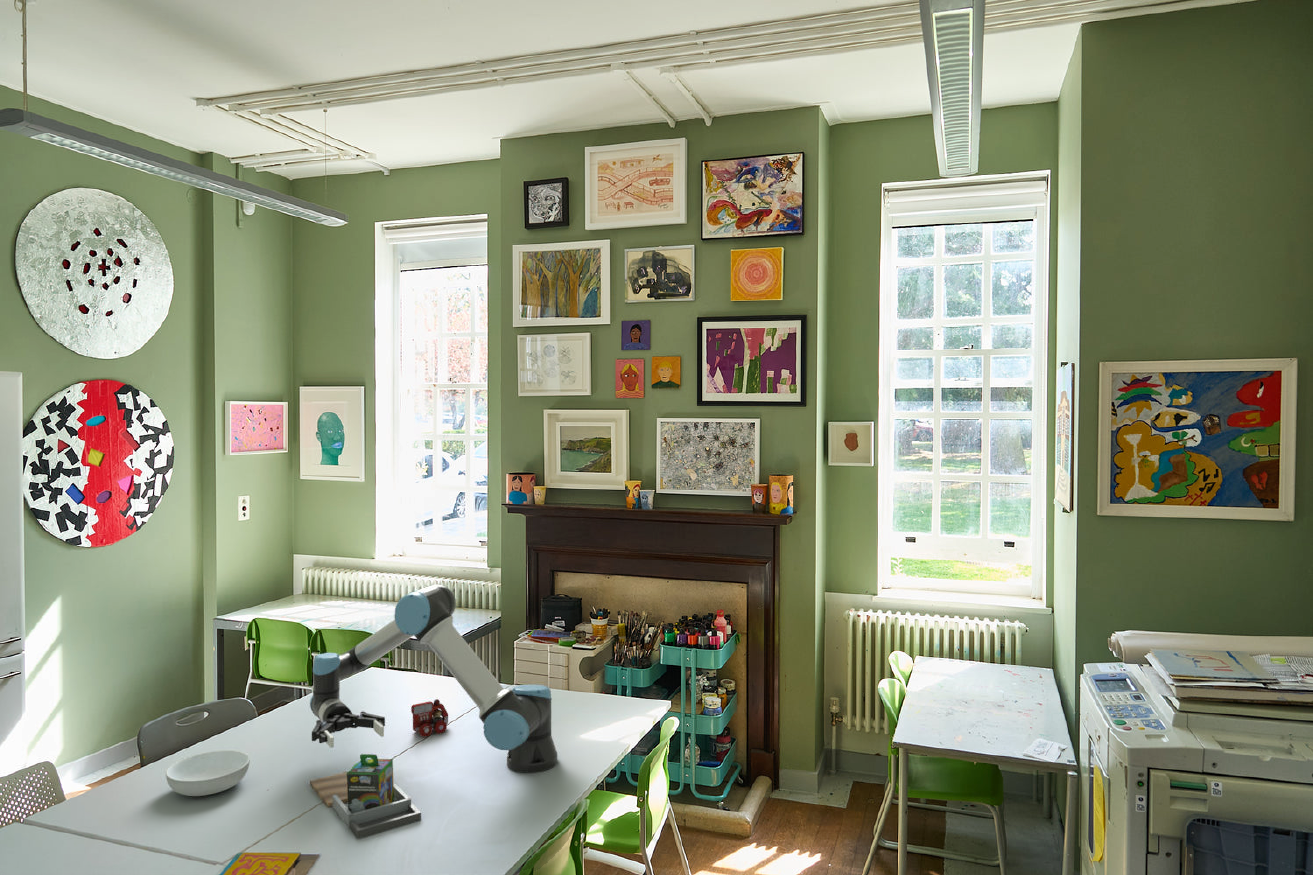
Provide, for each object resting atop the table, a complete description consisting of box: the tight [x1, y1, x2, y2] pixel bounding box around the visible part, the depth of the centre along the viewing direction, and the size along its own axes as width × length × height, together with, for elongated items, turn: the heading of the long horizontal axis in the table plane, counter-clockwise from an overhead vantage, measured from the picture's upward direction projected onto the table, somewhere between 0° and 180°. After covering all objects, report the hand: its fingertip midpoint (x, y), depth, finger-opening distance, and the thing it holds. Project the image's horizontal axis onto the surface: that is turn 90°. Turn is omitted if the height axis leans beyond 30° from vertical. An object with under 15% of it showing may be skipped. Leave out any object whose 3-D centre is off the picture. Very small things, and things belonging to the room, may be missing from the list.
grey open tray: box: [331, 782, 422, 840], centre depth 218 cm, size 22×16×3 cm
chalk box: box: [346, 753, 395, 814], centre depth 221 cm, size 9×9×15 cm
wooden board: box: [309, 771, 348, 808], centre depth 234 cm, size 18×18×1 cm
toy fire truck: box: [410, 698, 449, 738], centre depth 276 cm, size 7×12×10 cm, turn 128°
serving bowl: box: [165, 750, 251, 797], centre depth 233 cm, size 21×21×7 cm
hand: (357, 737), depth 228 cm, fingers open, 13 cm apart
